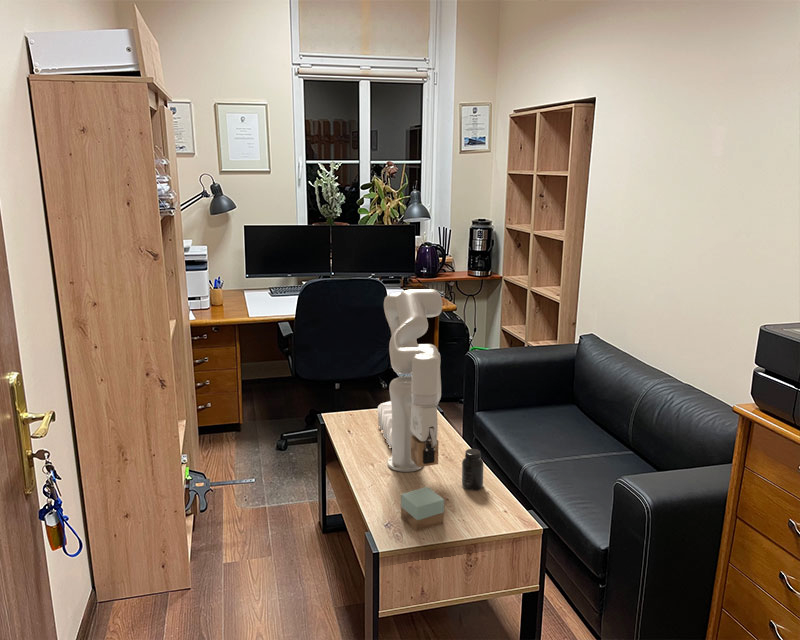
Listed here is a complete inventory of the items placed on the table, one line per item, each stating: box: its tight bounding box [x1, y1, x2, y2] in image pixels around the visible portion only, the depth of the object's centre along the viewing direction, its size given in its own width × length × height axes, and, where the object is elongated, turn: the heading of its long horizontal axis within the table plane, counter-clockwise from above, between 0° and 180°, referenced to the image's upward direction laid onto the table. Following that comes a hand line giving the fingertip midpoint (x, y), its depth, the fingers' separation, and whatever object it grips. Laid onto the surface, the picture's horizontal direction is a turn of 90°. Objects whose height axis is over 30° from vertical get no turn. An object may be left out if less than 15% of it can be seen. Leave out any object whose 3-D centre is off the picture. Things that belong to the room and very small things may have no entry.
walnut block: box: [411, 435, 440, 468], centre depth 185 cm, size 6×6×7 cm
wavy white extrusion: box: [377, 400, 392, 449], centre depth 250 cm, size 35×16×11 cm, turn 10°
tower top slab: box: [400, 486, 445, 520], centre depth 188 cm, size 9×9×4 cm
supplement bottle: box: [461, 448, 484, 491], centre depth 209 cm, size 7×7×12 cm
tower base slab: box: [400, 506, 445, 533], centre depth 189 cm, size 9×9×4 cm
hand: (424, 457), depth 185 cm, fingers closed on walnut block, 6 cm apart
